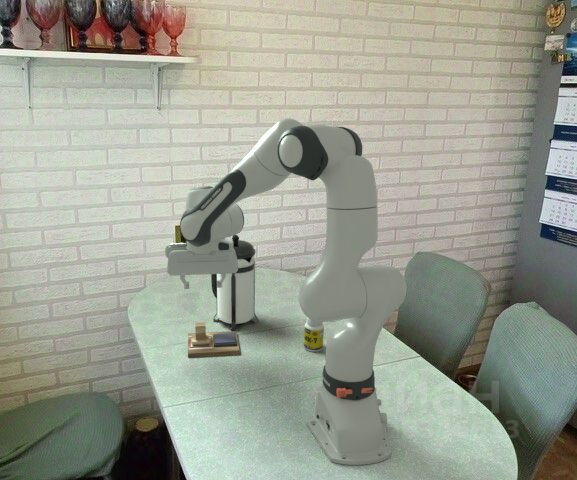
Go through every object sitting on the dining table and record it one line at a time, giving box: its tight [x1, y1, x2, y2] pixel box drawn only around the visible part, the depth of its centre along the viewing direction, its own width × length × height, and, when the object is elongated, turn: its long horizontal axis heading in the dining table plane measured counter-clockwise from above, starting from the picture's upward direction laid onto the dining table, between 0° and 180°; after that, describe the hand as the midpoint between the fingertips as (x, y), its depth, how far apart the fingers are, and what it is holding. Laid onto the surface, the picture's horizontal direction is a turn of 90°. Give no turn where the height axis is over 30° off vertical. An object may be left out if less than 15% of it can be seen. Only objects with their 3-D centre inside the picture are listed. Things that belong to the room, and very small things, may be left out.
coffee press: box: [210, 234, 259, 331], centre depth 184 cm, size 17×16×30 cm
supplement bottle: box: [303, 316, 325, 353], centre depth 170 cm, size 6×6×10 cm
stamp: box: [192, 321, 210, 346], centre depth 170 cm, size 5×5×6 cm
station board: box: [187, 330, 241, 358], centre depth 171 cm, size 13×15×2 cm
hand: (203, 287), depth 165 cm, fingers open, 8 cm apart
